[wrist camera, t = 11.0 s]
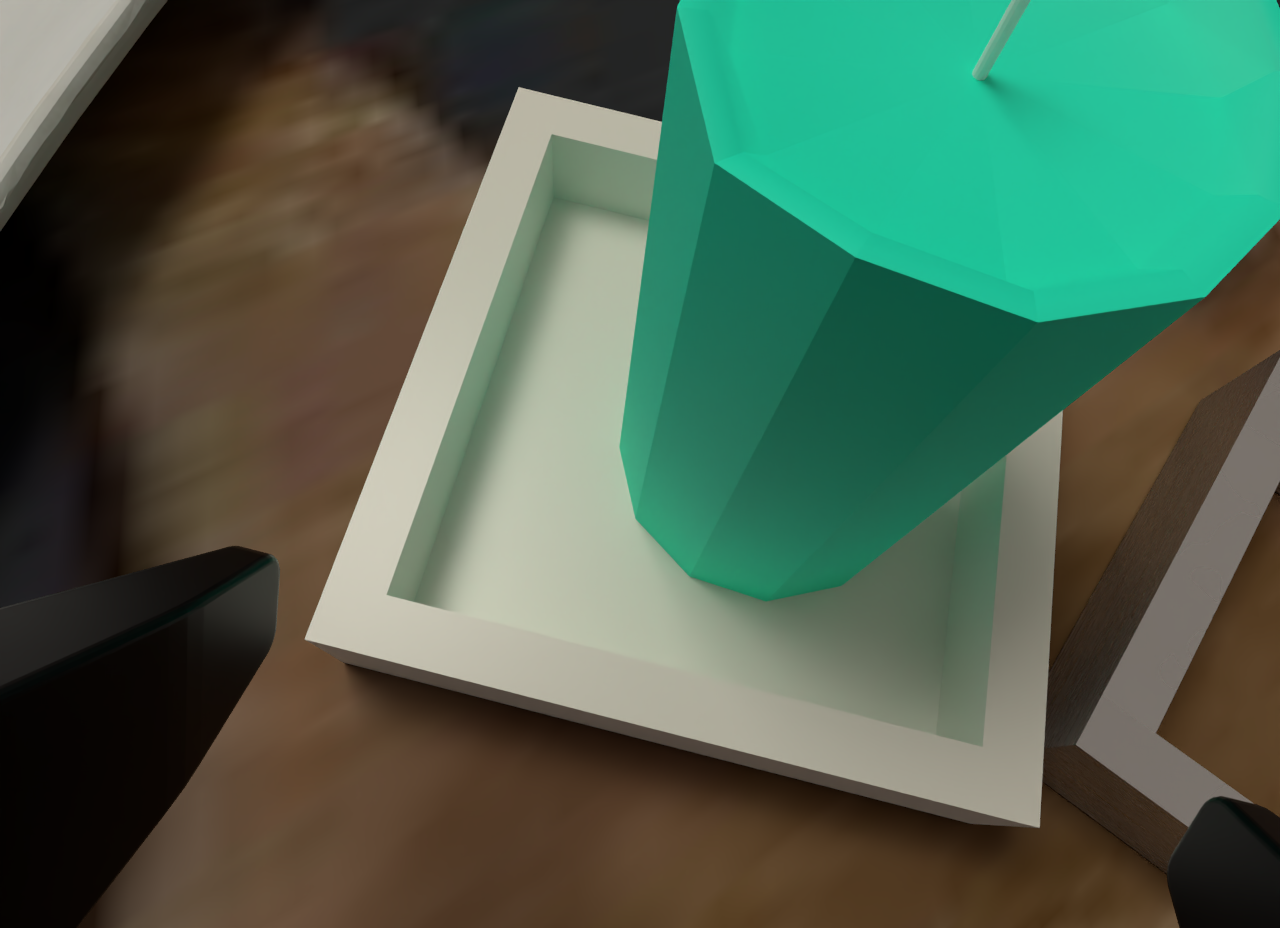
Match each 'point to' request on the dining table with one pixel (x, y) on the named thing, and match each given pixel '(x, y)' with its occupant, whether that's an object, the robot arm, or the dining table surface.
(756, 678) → the tray
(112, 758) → the robot arm
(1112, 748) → the steel collar
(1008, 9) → the candle
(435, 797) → the dining table surface
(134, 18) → the square plate
